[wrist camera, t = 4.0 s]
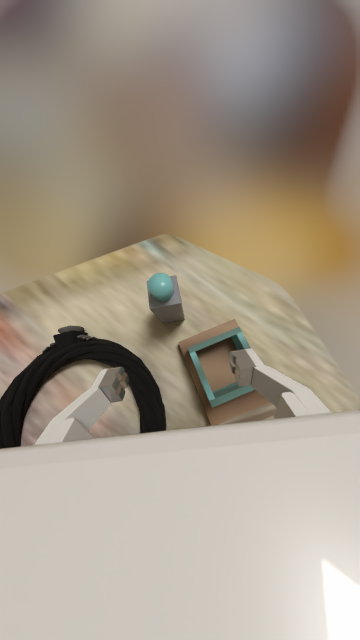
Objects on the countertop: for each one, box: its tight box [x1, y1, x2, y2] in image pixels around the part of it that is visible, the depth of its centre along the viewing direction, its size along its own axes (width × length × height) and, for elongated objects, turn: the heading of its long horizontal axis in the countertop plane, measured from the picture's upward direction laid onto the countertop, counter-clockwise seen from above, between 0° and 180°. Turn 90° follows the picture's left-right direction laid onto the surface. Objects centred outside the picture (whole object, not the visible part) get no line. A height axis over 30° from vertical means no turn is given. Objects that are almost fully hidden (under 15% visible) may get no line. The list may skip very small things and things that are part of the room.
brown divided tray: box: [178, 319, 277, 426], centre depth 18 cm, size 22×10×4 cm, turn 22°
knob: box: [147, 273, 184, 323], centre depth 20 cm, size 4×4×10 cm
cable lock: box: [0, 326, 166, 449], centre depth 21 cm, size 28×4×30 cm
